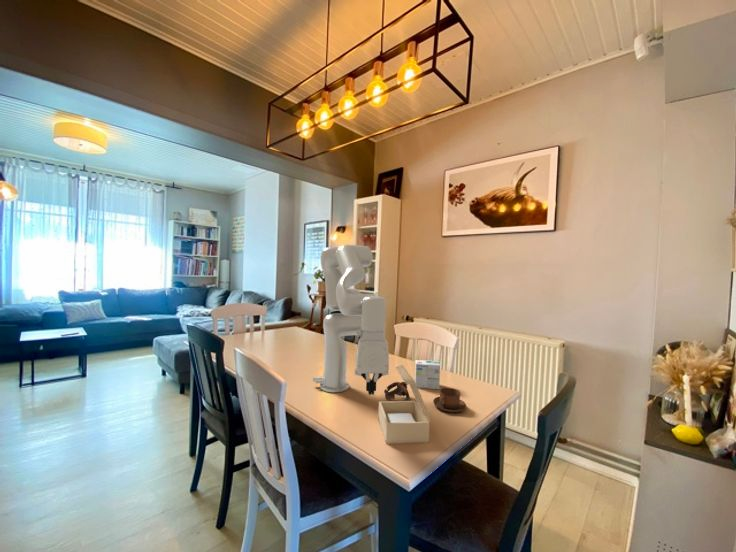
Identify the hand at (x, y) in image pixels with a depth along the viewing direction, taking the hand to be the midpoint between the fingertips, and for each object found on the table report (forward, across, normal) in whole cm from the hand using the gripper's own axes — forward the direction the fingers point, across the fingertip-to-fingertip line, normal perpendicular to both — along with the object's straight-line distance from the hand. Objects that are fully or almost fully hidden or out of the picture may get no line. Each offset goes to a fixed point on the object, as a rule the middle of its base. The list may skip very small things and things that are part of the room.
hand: (370, 393), depth 97 cm
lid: (0, +12, 0) cm, 12 cm away
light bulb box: (+12, +30, +36) cm, 49 cm away
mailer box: (+12, +10, 0) cm, 16 cm away
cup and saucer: (+13, +32, +15) cm, 38 cm away
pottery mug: (+12, +14, +22) cm, 29 cm away
